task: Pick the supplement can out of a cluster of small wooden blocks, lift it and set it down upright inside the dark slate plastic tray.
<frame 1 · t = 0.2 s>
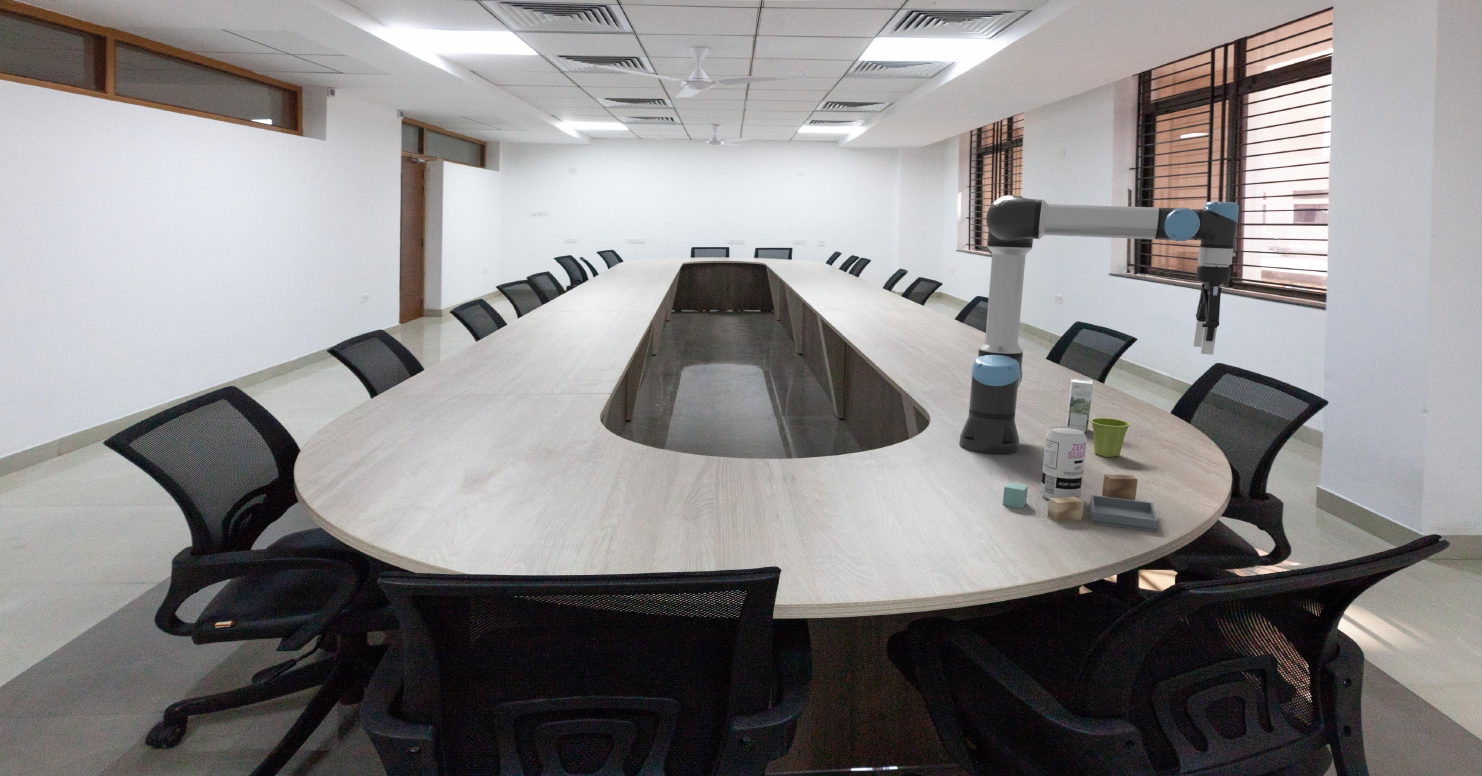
hand: (1202, 350, 227), 28 cm above the table, tool pointing down, fingers open, 13 cm apart
syrup box: (1076, 430, 259), on the table
tan block: (1064, 518, 182), on the table
walnut block: (1118, 498, 196), on the table
plant pot: (1106, 455, 233), on the table
tray: (1121, 518, 183), on the table
supplement can: (1059, 498, 196), on the table
teal block: (1014, 504, 190), on the table
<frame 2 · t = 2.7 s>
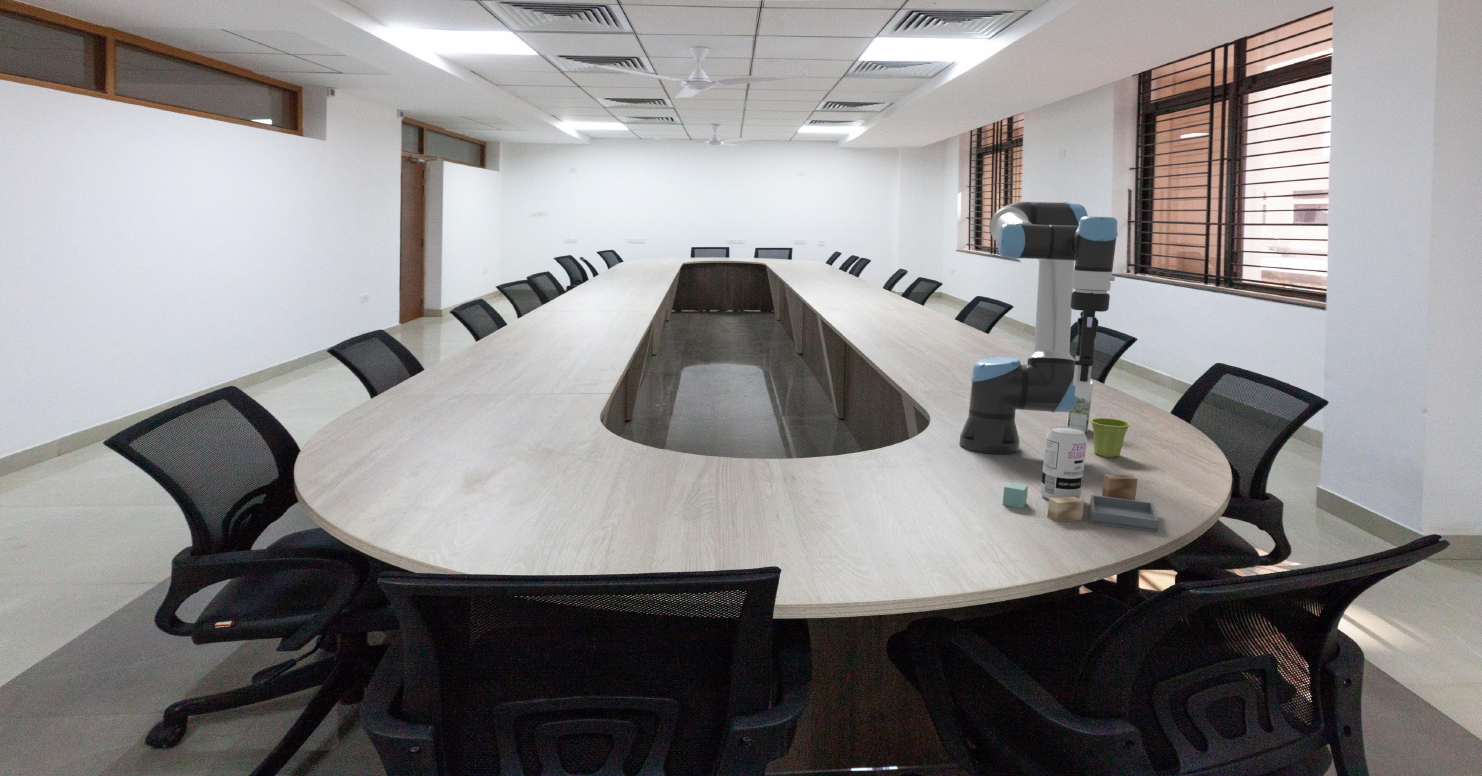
hand: (1080, 391, 193), 23 cm above the table, tool pointing down, fingers open, 13 cm apart
nothing on the table moved.
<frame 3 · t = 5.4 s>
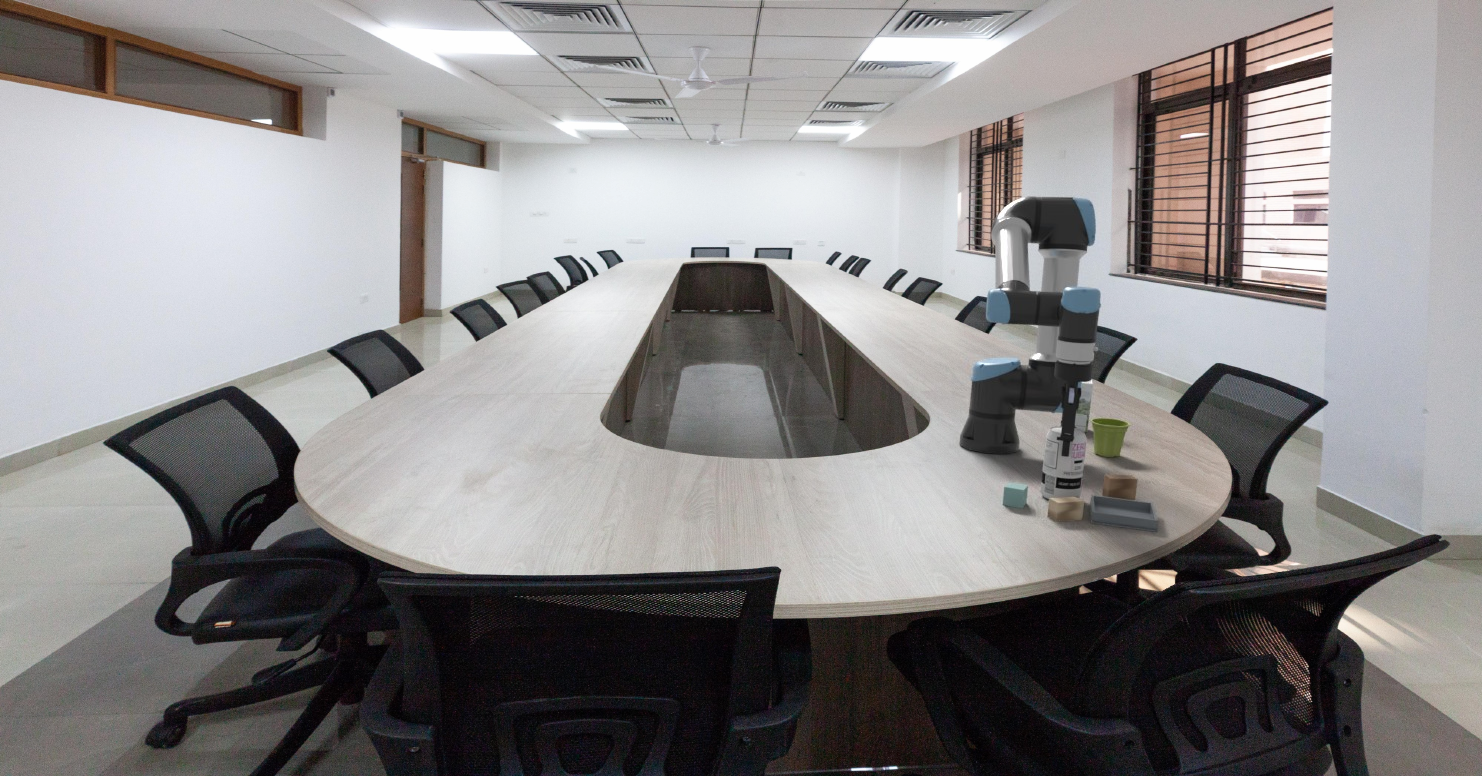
hand: (1063, 464, 194), 7 cm above the table, tool pointing down, fingers closed on supplement can, 8 cm apart
supplement can: (1059, 498, 196), on the table, touching gripper
everything else where it was.
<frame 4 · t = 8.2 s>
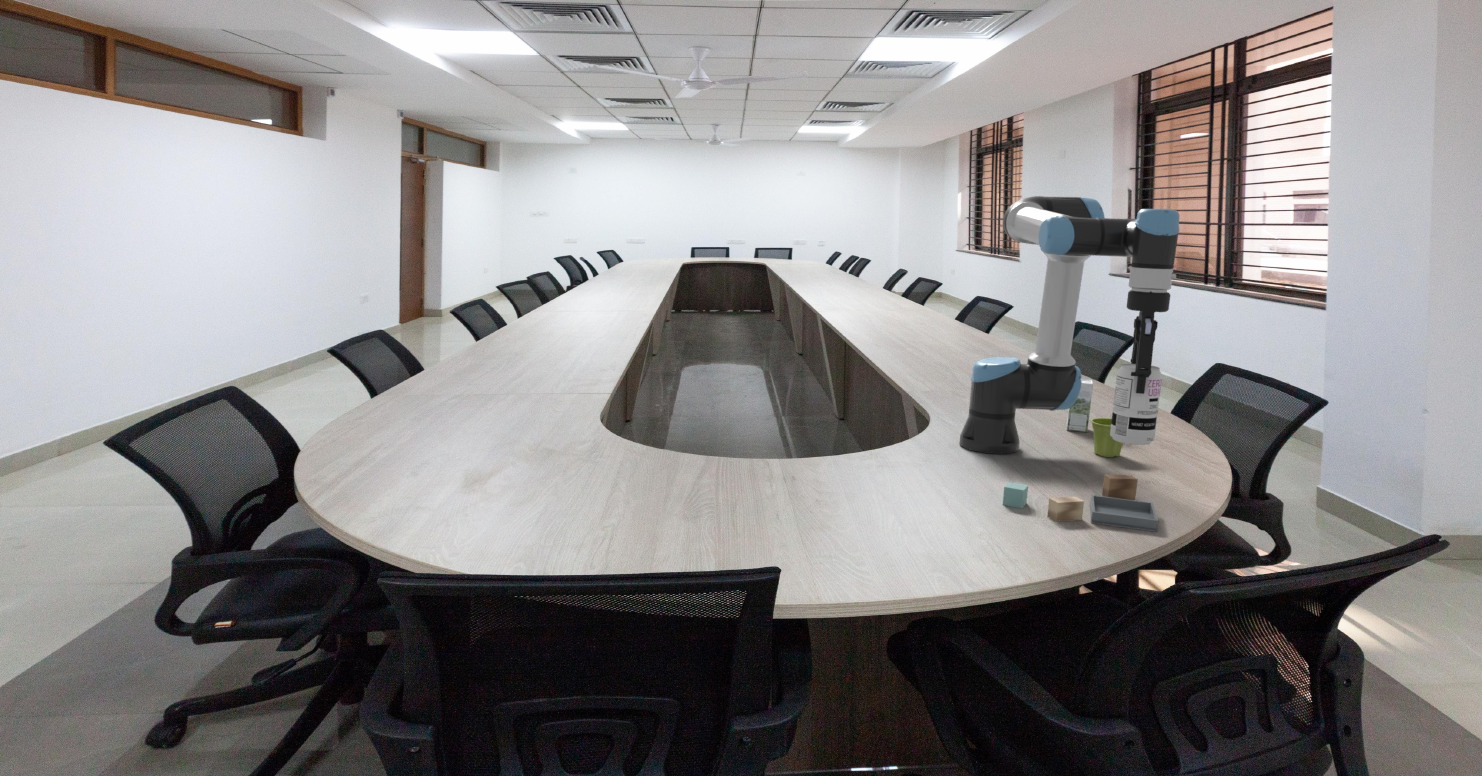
hand: (1135, 405, 179), 24 cm above the table, tool pointing down, fingers closed on supplement can, 8 cm apart
supplement can: (1131, 441, 180), point 16 cm above the table, touching gripper
everything else where it was.
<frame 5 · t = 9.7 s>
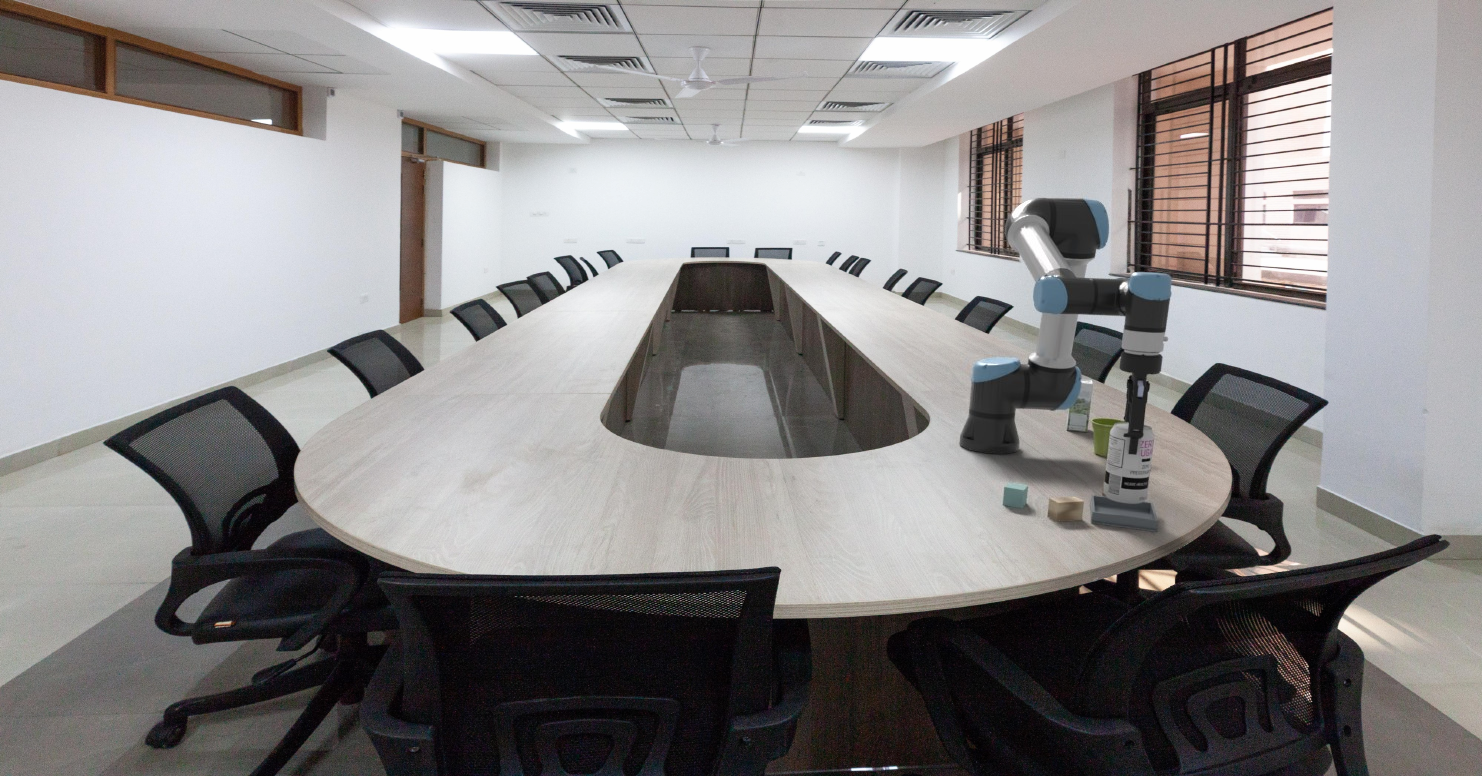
hand: (1128, 463, 181), 11 cm above the table, tool pointing down, fingers closed on supplement can, 8 cm apart
supplement can: (1124, 499, 183), point 4 cm above the table, touching gripper
everything else where it was.
when the fingers open (9 cm above the table, at t = 10.9 s): supplement can drops 2 cm, resting on tray.
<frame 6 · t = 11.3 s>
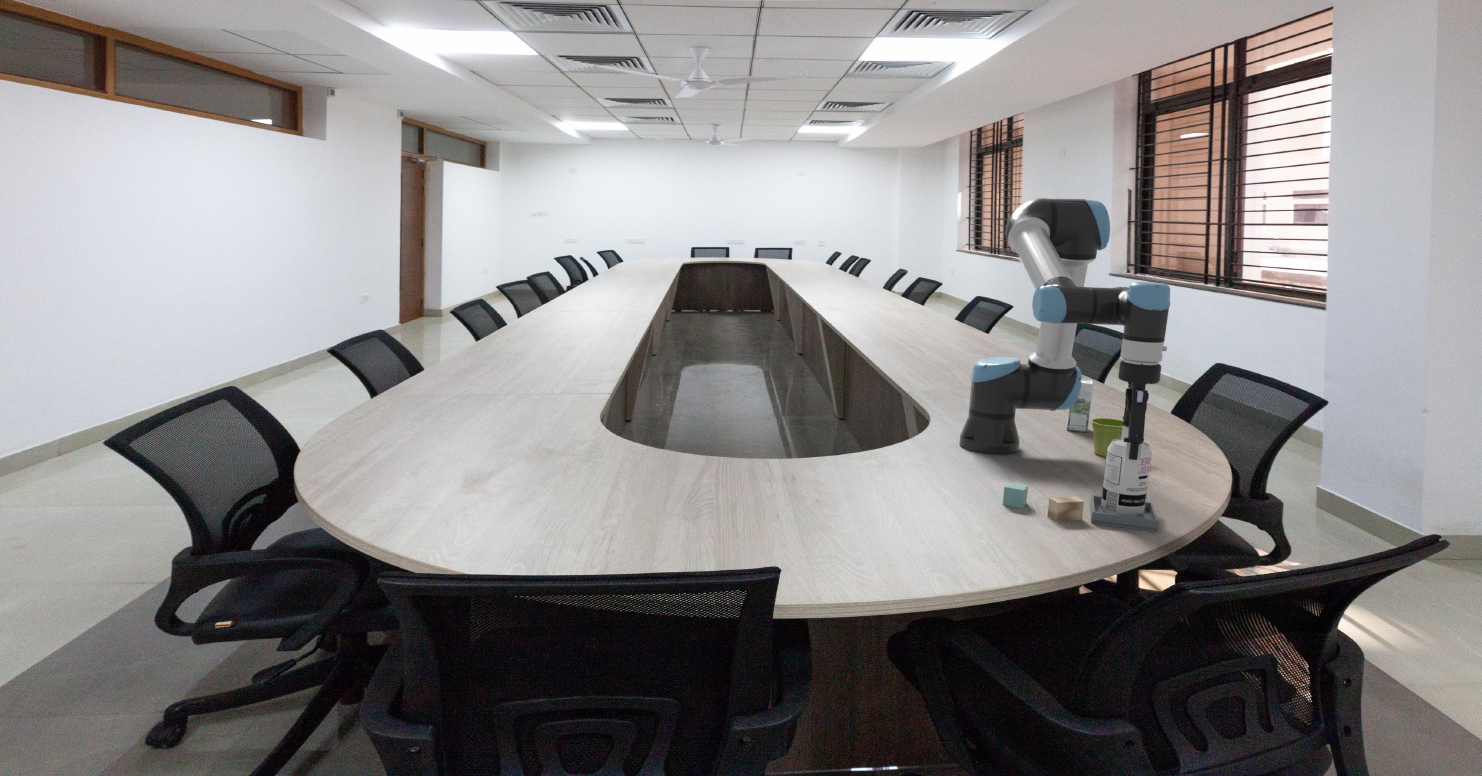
hand: (1128, 466, 181), 11 cm above the table, tool pointing down, fingers open, 13 cm apart
supplement can: (1121, 515, 184), resting on tray
everything else where it was.
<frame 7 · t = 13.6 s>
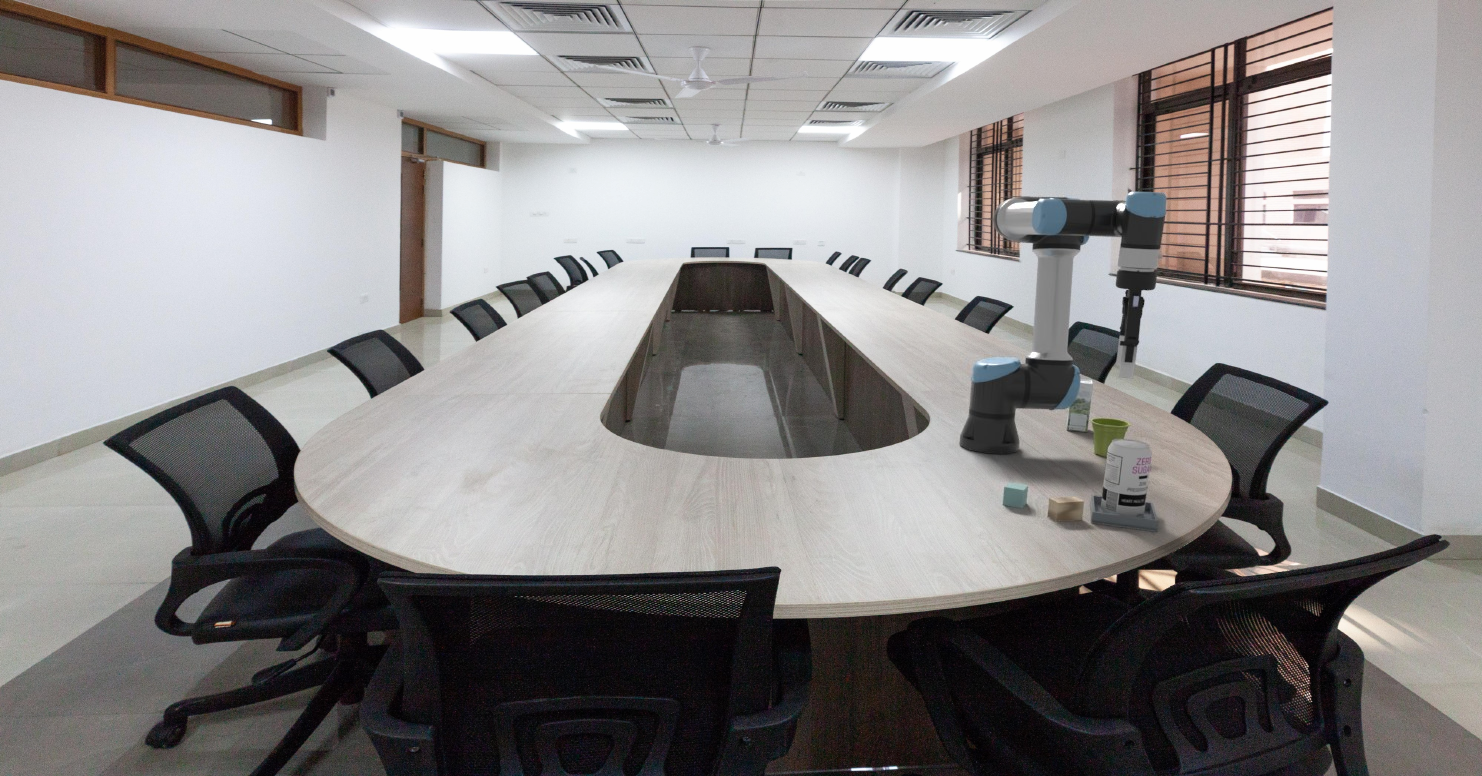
hand: (1124, 371, 188), 28 cm above the table, tool pointing down, fingers open, 13 cm apart
nothing on the table moved.
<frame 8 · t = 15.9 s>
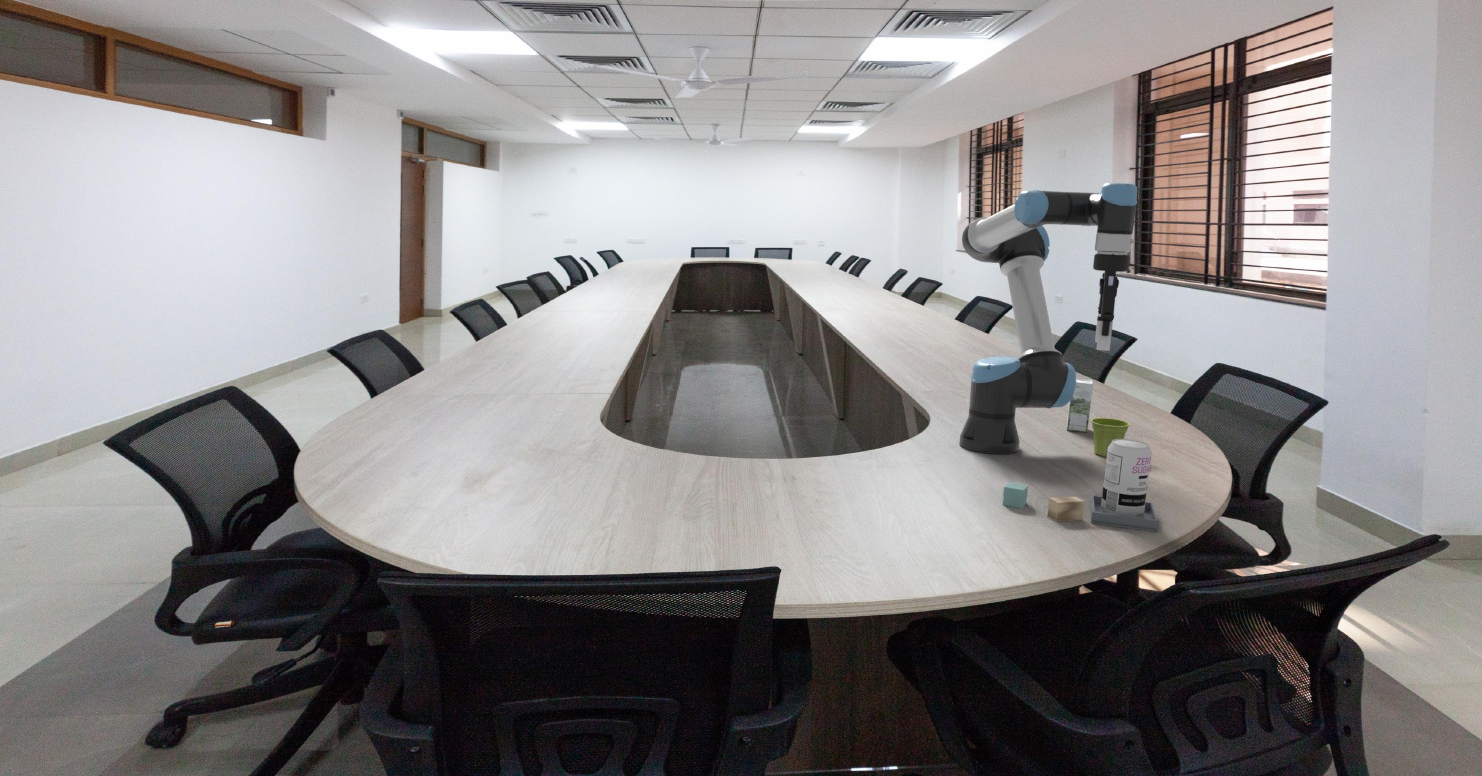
hand: (1101, 346, 208), 31 cm above the table, tool pointing down, fingers open, 13 cm apart
nothing on the table moved.
at the end: supplement can 0.3 cm from the tray (horizontally); supplement can tilted 0°; the gripper is holding nothing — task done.
